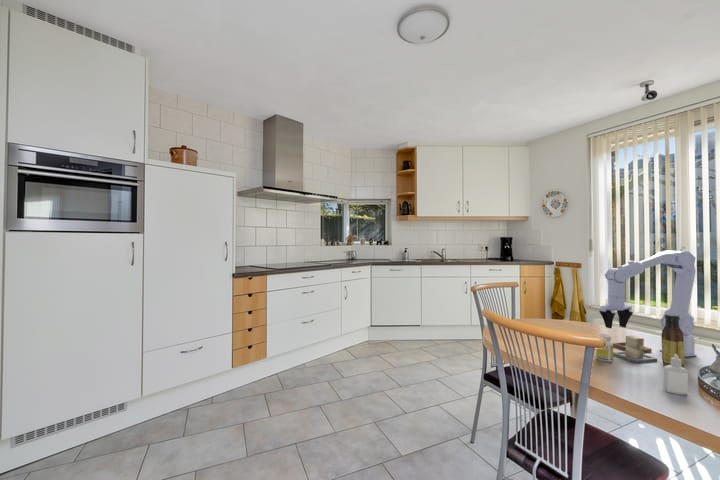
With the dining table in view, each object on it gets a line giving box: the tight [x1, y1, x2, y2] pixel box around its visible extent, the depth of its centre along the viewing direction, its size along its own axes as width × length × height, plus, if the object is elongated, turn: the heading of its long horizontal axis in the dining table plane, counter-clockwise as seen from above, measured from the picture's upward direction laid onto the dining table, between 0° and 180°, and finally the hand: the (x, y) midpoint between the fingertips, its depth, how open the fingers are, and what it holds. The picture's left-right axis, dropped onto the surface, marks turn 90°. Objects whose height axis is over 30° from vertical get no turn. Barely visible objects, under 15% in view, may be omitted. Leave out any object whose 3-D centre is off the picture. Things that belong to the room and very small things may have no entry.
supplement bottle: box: [595, 333, 614, 363], centre depth 130 cm, size 5×5×10 cm
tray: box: [613, 350, 658, 364], centre depth 132 cm, size 11×9×1 cm
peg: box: [625, 335, 645, 359], centre depth 132 cm, size 4×4×8 cm
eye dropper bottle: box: [662, 354, 689, 396], centre depth 102 cm, size 4×6×12 cm
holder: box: [612, 341, 653, 354], centre depth 143 cm, size 10×10×2 cm
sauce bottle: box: [661, 314, 685, 368], centre depth 124 cm, size 7×6×20 cm
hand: (615, 327), depth 139 cm, fingers open, 7 cm apart
